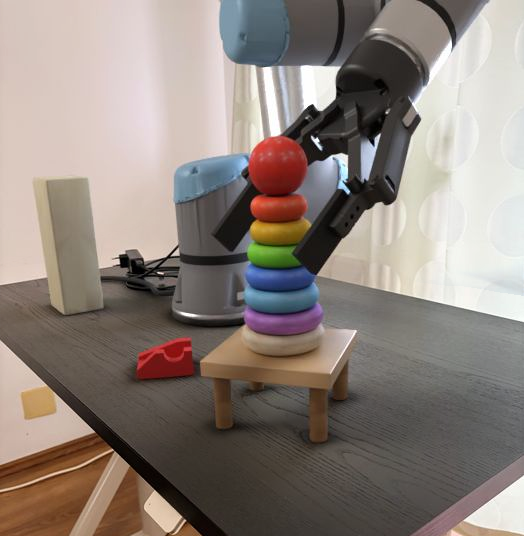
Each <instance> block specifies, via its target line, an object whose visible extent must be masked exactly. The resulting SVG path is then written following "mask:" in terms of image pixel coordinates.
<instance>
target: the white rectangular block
mask: <svg viewBox="0 0 524 536" xmlns="http://www.w3.org/2000/svg"><path fill="white" fill-rule="evenodd" d="M31 180H32V187H33V193H34V200H35V206H36V207H35V208H36V213H37V221H38V225H39V226H38V227H39V232H40V233H39V234H40V238H41V240H40V241H41V247H42V252H43V259H44V265H45V272H46V278H47V285H48V293H49V299H50V303H51V307H53V308H55V309H56V310H57V311H58V312H60V313H61V314H62V315H64V316H70V315H74V314H81V313H85V312H92V311H96V310H102V309H104V299H103V289H102V281H101V280H100V276H101V273H100V265H99V257H98V247H97V240H96V232H95V224H94V223H95V222H94V216H93V214H94V213H93V207H92V199H91V190H90V189H91V188H90V182H89V178H88V177H86V176H79V175H70V174H69V175H55V176H37V177H32V179H31Z"/></svg>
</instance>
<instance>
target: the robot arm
mask: <svg viewBox="0 0 524 536" xmlns="http://www.w3.org/2000/svg"><path fill="white" fill-rule="evenodd" d="M218 2H219V3H220V5H219V13H218V29H219V37H220V39H221V41H222V49H223V51H224V53H225V55H226V57H227V58H228V59H229V61H231V62H233V63H235V64H237V65H244V66H245V65H248V66H254V67H255V73H256V74H255V75H256V76H255V77H256V85H257V93H258V101H259V108H260V117H261V126H262V132H263V133H262V134H263V140H264V139H266V138H269V137H273V136H283V137H288V138H290V139H292V140H294V141H295V142H297V143H298V144H299V145H300V146H301V148H302V149H303V151H304V153H305V155H306V158H307V174H306V178H305V180H304V182H303V184H302V185H301V186H300V188H299V189H298V190H297V191H295V192H293V193H295V194H300V195H302V196H303V197H304V198H305V199H306V201H307V205H308V208H307V211H306V213H305V215H304V216H303V217H302V218H305V219H306V220H308V221H309V222H310V224H311V227H310V228H309V229H308V231H307V232H306V234H305V235H304V236H303V238H302V239H301V241H300V242H299V244H298V245H297V246H296V248H295V249H294V251H293V252H292V253H291V254H292V255H293V256H294V257H295V258H296V259H297V260H298V261H299V262H300V263H301V264H302V265H303V266H304V267H305V268H306V269H307V270H308V271H309V272H310V273H311V274H313V275H316V276H318V274H319V273H320V271H321V270H322V268H323V267H324V266H325V264H326V263H327V262H328V260H329V259H330V257H331V256H332V254H333V253H334V251H335V250H336V249H337V247H338V245H339V244H340V243H341V241H342V240H343V239H345V238H346V237H347V236H348V235H349V234H350V233H351V232H352V230H353V228H354V227H355V226H356V224H357V223H358V221H359V220H360V219H361V217H362V215H363V214H364V213H365V211H369V210H371V209H373V208H374V207H375V206H376V204H379V203H382V204H383V206H390V205H392V204H393V203H395V202H396V200H397V199H398V196H399V195H398V194H399V190H400V187H401V182H402V177H403V173H404V169H405V166H406V162H407V157H408V153H409V148H410V145H411V140H412V136H413V135H414V133H415V131H416V130H417V129H418V126H419V125H420V123H421V121H422V116H421V115H420V112H419V111H418V109H417V108H416V104H417V103H418V101H419V100H420V98H421V97H422V94H423V91H425V90H426V89H427V88H428V86H429V84H430V83H431V81H432V80H433V79H434V77H435V76H436V75H437V73H438V71H439V70H440V69H441V67H442V65H444V63H445V61H446V60H447V59H448V58H449V56H450V55H451V53H452V52H453V51H454V49H455V48H456V47H457V45H458V44H459V43H460V41H461V40H462V39H463V37H464V36H465V34H466V33H467V32H468V30H469V29H470V27H471V26H472V25H473V23H474V22H475V21H476V19H477V18H478V16H479V15H480V13H481V12H482V11H483V9H484V8H485V6H486V5H487V4H489V3H490V2H491V0H218ZM313 67H327V68H328V67H329V68H331V67H332V68H335V67H339V69H338V71H337V73H336V75H335V81H334V82H335V99H333V101H331V102H330V103H329V104H328V105H327V106H326V107H325V108H324V109H323V110H319V109H318V107H317V97H316V89H315V88H316V87H315V78H314V69H313ZM341 154H343V155H345V156H347V167H346V163H345V162H344V161H343V160H342V159H340V158H338V157H336V156H337V155H341ZM250 155H251V153H249V152H242V153H232V154H226V155H218V156H211V157H207V158H202V159H197V160H193V161H188V162H186V163H183V164H181V165H180V166H178V167H177V168H176V169H175V172H174V173H173V197H172V199H173V203H174V209H175V210H174V211H175V219H176V220H175V221H176V233H177V242H178V245H177V246H178V253H179V254H178V255H179V271H178V274H177V279H176V284H175V289H173V290H159V289H157V288H156V286H155V285H154V283H152V282H150V281H149V280H148V281H147V280H145V279H141V278H138V277H137V278H136V277H131V278H129V276H122V275H121V276H120V275H100V280H101V282H108V281H109V282H125V283H133V284H138V285H142V286H144V287H147V288H149V289H150V291H151V292H152V293H153V295H156V296H158V297H172V301H171V311H172V312H171V313H172V317H173V318H174V320H175V321H178V322H181V323H184V324H187V325H192V326H200V327H201V326H202V327H203V326H204V327H222V326H223V327H224V326H231V325H232V326H234V325H238V324H241V325H242V324H246V323H245V321H244V311H245V309H246V308H247V306H248V305H247V304H246V302H245V300H244V291H245V288H246V287H247V286H248V285H249V284H248V282H247V280H246V277H245V272H246V269H247V267H248V266H249V265H250V264H251V262H250V260H249V259H248V255H247V250H248V247H249V246H250V244H251V243H253V242H255V241H254V240H253V239H252V237H251V235H250V227H251V225H252V224H253V222H255V221H256V220H258V219H257V218H255V217H254V215H253V214H252V212H251V202H252V200H253V199H254V198H255V197H257V196H259V195H263V194H264V193H261V192H260V191H259V190H258V189H257V188H256V187H255V185H254V184H253V183H252V180H251V178H250V175H249V169H248V163H249V158H250Z"/></svg>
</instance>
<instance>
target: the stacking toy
mask: <svg viewBox="0 0 524 536" xmlns="http://www.w3.org/2000/svg"><path fill="white" fill-rule="evenodd" d="M250 154H251V155H250V158H249V163H248V169H249V175H250V178H251V180H252V183H253V184H254V185H255V187H256V188H257V189H258V190H259V191H260V192H261V193H264V194H263V195H259V196H257V197H255V198H254V199H253V200H252V202H251V212H252V214H253V215H254V217H255V218H257V219H258V220H256V221H255V222H253V224H252V225H251V227H250V235H251V237H252V239H253V240H254V241H255V242H253V243H251V244H250V246H249V247H248V250H247V255H248V259H249V260H250V262H251V264H250V265H249V266H248V267H247V269H246V272H245V277H246V280H247V282H248V284H249V285H248V286H247V287H246V288H245V291H244V300H245V302H246V304H247V305H248V306H247V308H246V309H245V311H244V321H245V323H244V325H245V324H246V325H245V327H244V328H243V330H242V333H241V338H242V342H243V343H244V345H245V346H246V347H247V348H248V349H250V350H252V351H254V352H256V353H260V354H264V355H271V356H289V355H296V354H301V353H305V352H308V351H311V350H313V349H315V348H317V347H318V346H320V345H321V344H322V342H323V341H324V338H325V330H324V328H325V327H324V325H322V321H323V319H324V309H323V307H322V306H321V304H320V303H319V302H318V300H319V297H320V291H319V288H318V286H317V285H316V283H314V281H315V280H316V278H317V275H313V274H311V273H310V272H309V271H308V270H307V269H306V268H305V267H304V266H303V265H302V264H301V263H300V262H299V261H298V260H297V259H296V258H295V257H294V256H293V255H292V254H291V253H292V252H293V251H294V249H295V248H296V246H297V245H298V244H299V242H300V241H301V239H302V238H303V236H304V235H305V234H306V232H307V231H308V229H309V228H310V227H311V224H310V222H309V221H308V220H306V219H305V218H302V217H303V216H304V215H305V213H306V211H307V208H308V205H307V201H306V199H305V198H304V197H303V196H302V195H300V194H295V193H293V192H295V191H297V190H298V189H299V188H300V186H301V185H302V184H303V182H304V180H305V178H306V174H307V158H306V155H305V153H304V151H303V149H302V148H301V146H300V145H299V144H298V143H297V142H295V141H294V140H292V139H290V138H288V137H283V136H273V137H269V138H266V139H264V138H263V140H261V141H260V142H258V143H257V144H256V145H255V147H254V148H253V149H252V150H251V153H250Z"/></svg>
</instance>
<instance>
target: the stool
mask: <svg viewBox="0 0 524 536" xmlns="http://www.w3.org/2000/svg"><path fill="white" fill-rule="evenodd" d="M245 325H246V323H244V324H243V325H242V326H241V327H239V328H238V329H237V330H236V331H235V332H234V333H232V334H231V335H230V336H229V337H227V338H226V339H225V340H223V342H222V343H220V344H219V345H218V346H217V347H216V348H214V349H213V350H212V351H210V352H209V353H208V354H207V355H205V357H204V358H202V359H201V360H200V361H199V364H200V366H199V367H200V376H201V377H204V378H212V388H213V400H214V401H213V402H214V415H215V427H216V428H217V429H219V430H229V429H231V428H232V427H233V425H234V419H233V404H232V402H233V401H232V387H231V380H232V381H234V380H235V381H241V382H242V381H243V382H249V383H248V385H249V389H250V390H251V391H254V392H259V391H263V390H264V389H265V384H270V385H281V386H290V387H291V386H292V387H298V388H299V387H300V388H308V393H309V394H308V397H309V398H308V400H309V401H308V402H309V409H308V410H309V412H308V413H309V440H310V441H311V442H314V443H324V442H326V441H327V440H328V438H329V437H328V436H329V435H328V433H329V432H328V430H329V429H328V428H329V427H328V425H329V424H328V422H329V421H328V420H329V419H328V417H329V416H328V415H329V414H328V408H329V407H328V404H329V402H328V400H329V399H328V397H329V396H328V393H329V390H332V391H331V392H332V393H331V394H332V395H331V396H332V399H334V400H337V401H344V400H347V399H348V397H349V358H350V356H351V355H352V353H353V351H354V349H355V347H356V346H357V344H358V330H356V329H347V328H346V329H344V328H333V327H332V328H330V327H323V328H324V330H325V338H324V341H323V342H322V344H321V345H320V346H318V347H317V348H315V349H313V350H311V351H308V352H305V353H301V354H296V355H289V356H271V355H264V354H260V353H256V352H254V351H252V350H250V349H248V348H247V347H246V346H245V345H244V343H243V342H242V338H241V333H242V330H243V328H244V327H245Z"/></svg>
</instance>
